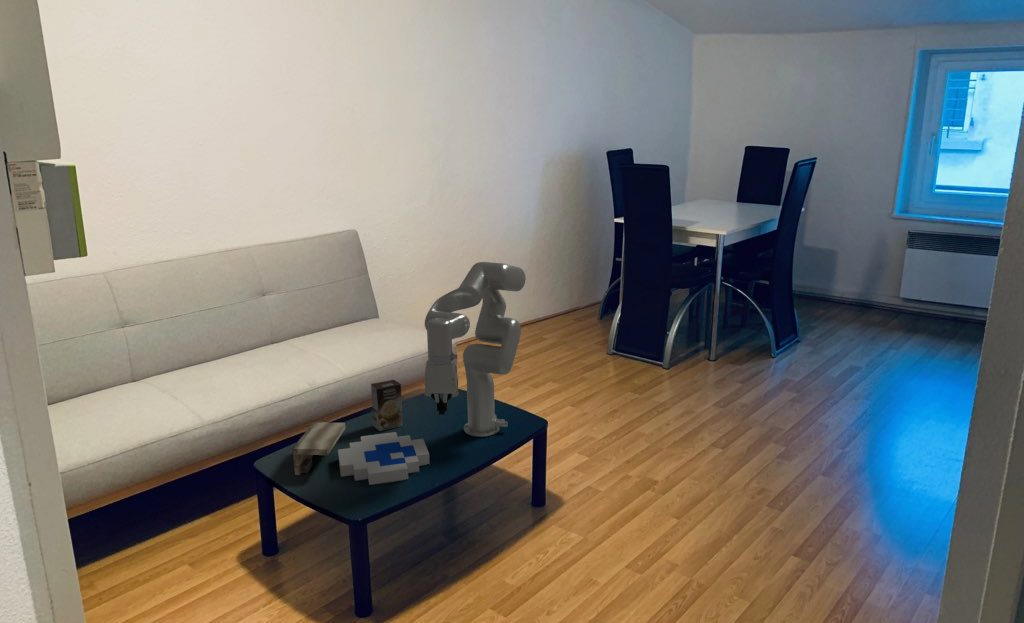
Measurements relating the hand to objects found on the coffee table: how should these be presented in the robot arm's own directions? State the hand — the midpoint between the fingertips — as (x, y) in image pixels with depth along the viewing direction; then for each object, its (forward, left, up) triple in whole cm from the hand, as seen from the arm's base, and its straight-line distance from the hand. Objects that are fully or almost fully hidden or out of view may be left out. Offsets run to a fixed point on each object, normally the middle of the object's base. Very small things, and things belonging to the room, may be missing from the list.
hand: (442, 413), depth 248 cm
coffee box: (+25, -28, -18) cm, 42 cm away
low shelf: (+40, 0, -18) cm, 44 cm away
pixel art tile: (+20, 0, -18) cm, 27 cm away
